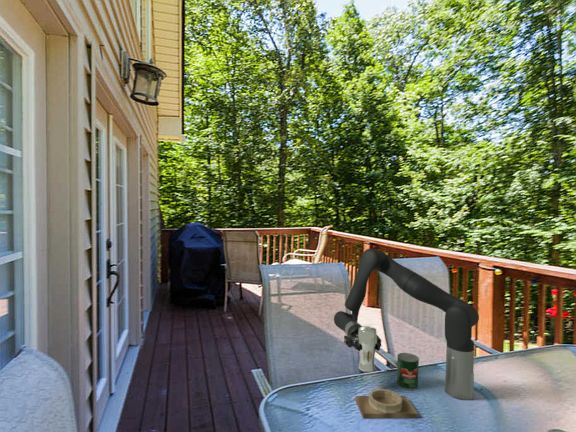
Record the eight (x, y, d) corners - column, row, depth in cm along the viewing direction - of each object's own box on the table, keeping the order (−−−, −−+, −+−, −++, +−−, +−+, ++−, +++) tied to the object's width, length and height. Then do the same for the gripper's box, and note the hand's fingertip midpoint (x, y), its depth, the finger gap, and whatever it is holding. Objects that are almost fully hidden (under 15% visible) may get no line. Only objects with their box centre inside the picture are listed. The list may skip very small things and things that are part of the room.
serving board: (405, 400, 128) (405, 388, 128) (417, 418, 117) (418, 405, 117) (355, 400, 127) (355, 388, 127) (363, 418, 116) (363, 406, 116)
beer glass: (376, 373, 131) (377, 332, 131) (357, 371, 132) (357, 331, 132) (375, 365, 138) (376, 326, 137) (357, 363, 139) (358, 325, 139)
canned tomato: (405, 391, 134) (406, 362, 133) (392, 381, 141) (393, 354, 141) (422, 388, 137) (423, 359, 136) (408, 378, 144) (409, 351, 144)
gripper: (339, 324, 148) (350, 338, 132) (372, 323, 150) (388, 337, 133) (338, 342, 148) (349, 359, 132) (372, 341, 150) (387, 358, 133)
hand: (369, 348), depth 133 cm, fingers closed on beer glass, 6 cm apart
